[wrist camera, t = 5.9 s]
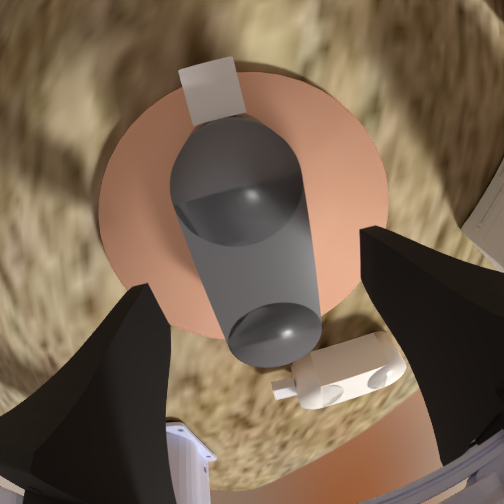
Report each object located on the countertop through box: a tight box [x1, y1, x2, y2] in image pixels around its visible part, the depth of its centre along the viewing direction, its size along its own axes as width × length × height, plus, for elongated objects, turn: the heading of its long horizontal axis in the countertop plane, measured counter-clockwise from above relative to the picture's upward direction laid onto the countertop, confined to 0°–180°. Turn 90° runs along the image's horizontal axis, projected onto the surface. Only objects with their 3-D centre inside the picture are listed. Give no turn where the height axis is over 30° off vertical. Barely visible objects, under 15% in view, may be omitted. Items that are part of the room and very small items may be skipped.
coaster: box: [99, 72, 389, 339], centre depth 13 cm, size 13×13×1 cm
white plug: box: [271, 331, 406, 409], centre depth 18 cm, size 9×3×3 cm, turn 102°
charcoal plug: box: [170, 56, 322, 368], centre depth 11 cm, size 11×4×4 cm, turn 13°
